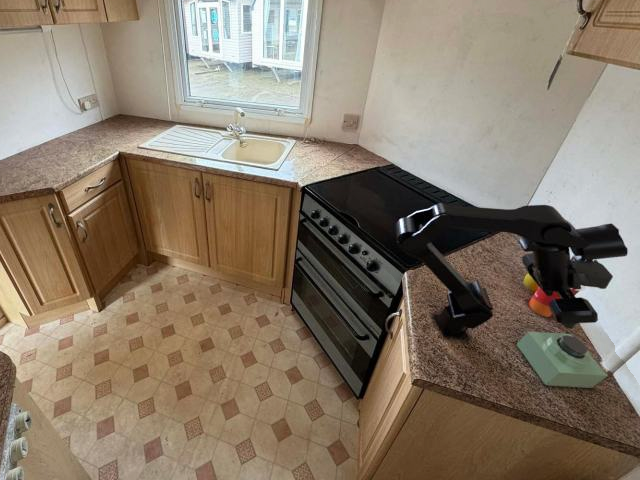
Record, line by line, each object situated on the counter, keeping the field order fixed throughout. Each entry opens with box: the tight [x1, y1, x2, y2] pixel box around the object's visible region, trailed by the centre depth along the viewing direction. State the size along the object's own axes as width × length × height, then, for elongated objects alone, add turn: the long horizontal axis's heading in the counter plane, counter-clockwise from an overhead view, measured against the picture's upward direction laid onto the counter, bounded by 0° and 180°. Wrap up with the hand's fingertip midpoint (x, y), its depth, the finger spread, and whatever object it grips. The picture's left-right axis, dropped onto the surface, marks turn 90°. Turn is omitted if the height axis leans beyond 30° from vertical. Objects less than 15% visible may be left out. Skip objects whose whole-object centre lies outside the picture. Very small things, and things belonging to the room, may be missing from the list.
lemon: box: [523, 272, 539, 293], centre depth 94 cm, size 6×6×8 cm
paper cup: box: [528, 285, 586, 318], centre depth 87 cm, size 8×8×14 cm
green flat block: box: [515, 331, 609, 389], centre depth 74 cm, size 11×10×8 cm
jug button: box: [558, 335, 588, 358], centre depth 72 cm, size 4×4×2 cm
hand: (558, 310), depth 71 cm, fingers open, 9 cm apart
